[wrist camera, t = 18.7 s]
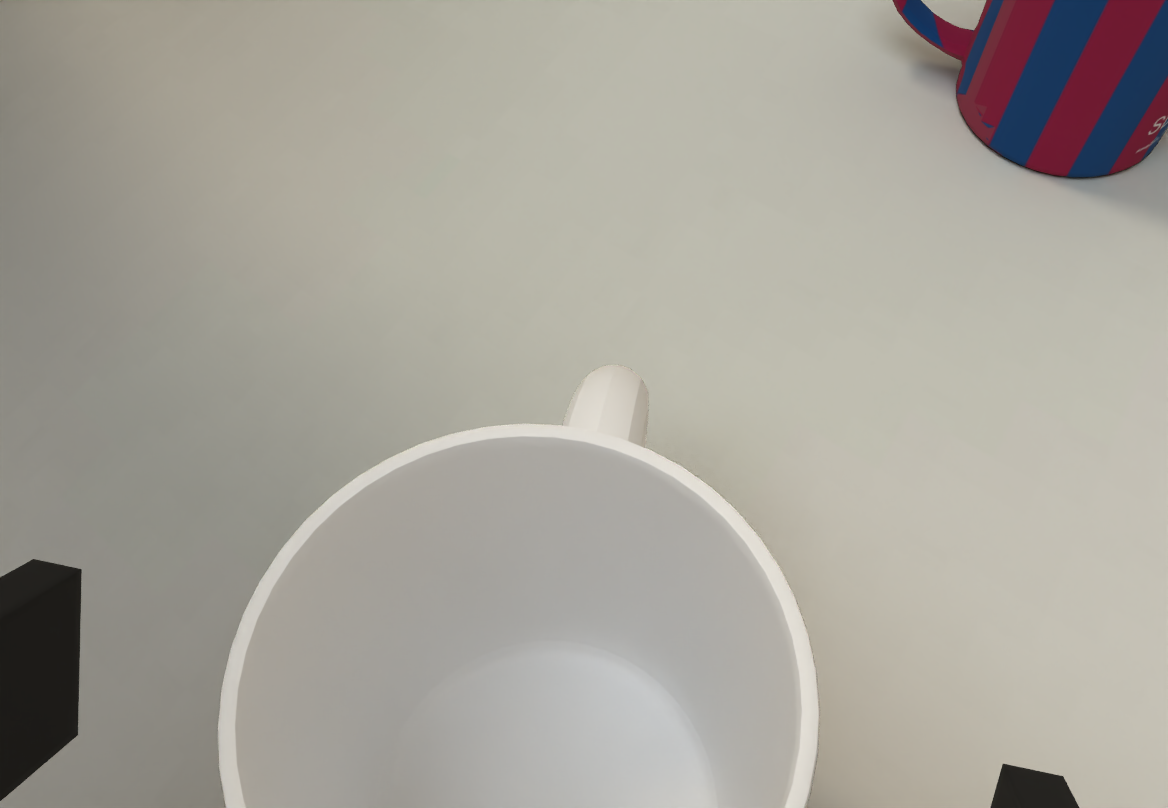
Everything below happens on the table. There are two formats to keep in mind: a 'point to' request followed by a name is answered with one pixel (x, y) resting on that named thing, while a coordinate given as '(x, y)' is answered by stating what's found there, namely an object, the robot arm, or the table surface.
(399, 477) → the mug
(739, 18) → the table surface
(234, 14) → the table surface
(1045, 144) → the cup
